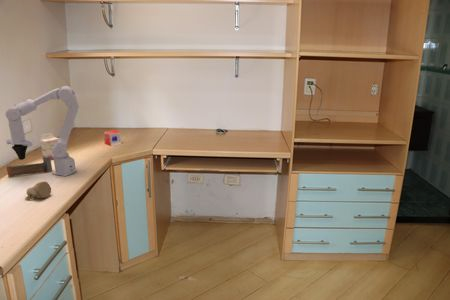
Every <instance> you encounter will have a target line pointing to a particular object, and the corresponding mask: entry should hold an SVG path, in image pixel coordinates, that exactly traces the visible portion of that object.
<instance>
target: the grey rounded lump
mask: <svg viewBox="0 0 450 300" xmlns="http://www.w3.org/2000/svg"><path fill="white" fill-rule="evenodd" d="M51 193H52V187H51V185H50V183H48V182H47V181H39V182H37V183H35V185H33V186H31V187H28V188H27V189H26V196H25V198H24V200H25V201H27V200H28V201H30V200H33V199H35V198H38V199H46V198H49V197H50V195H51Z"/></svg>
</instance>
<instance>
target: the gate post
mask: <svg viewBox="0 0 450 300" xmlns="http://www.w3.org/2000/svg"><path fill="white" fill-rule="evenodd" d="M41 158H42V160H43V162H45V164H46V170H47V172H46V173H51V172H52V171H53V167H52V166H53V165H52V160H51V159H50V158H51V157H49V156H46V157H43V156H42V157H41Z"/></svg>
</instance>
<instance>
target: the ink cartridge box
mask: <svg viewBox="0 0 450 300" xmlns="http://www.w3.org/2000/svg"><path fill="white" fill-rule="evenodd" d="M39 136H40V137H39V138H40V140H39V142H40V146H41V152H42V153H41V154H42V158H43V157H46V156H49V157H51V158H50V159H51V161H54V159H53V156H54V155H53V153H52V150H53V148H54V145H55V143H56V142H57V141H58V138H59V137H56V136H55V132H49V133H43V134H40V135H39Z"/></svg>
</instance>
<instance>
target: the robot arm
mask: <svg viewBox="0 0 450 300" xmlns="http://www.w3.org/2000/svg"><path fill="white" fill-rule="evenodd" d="M59 99H60V101H62V102H64V103H65V105H66V106H67V108H68V109H67V111H66V114H65V117H64V120H63V124H62V127H61V129H60V132H59V135H58V137H57V138H58V141H57V142H56V143H55V145H54V148H53V150H52V153H53V155H54V156H53V159H54V160H53V165H54V170H55V171H53V172H51V175H56V176H62V177H67V176H69V175H72V174H73V173H74V174H75V173H77V172H78V170H77V169H76V162H75V159H74V158H73V157H72V156H70V154H69V153H68V152H67V151H68V141H69V139H70V136H71V132H72V129H73V126H74V122H75V121H76V116H77V114H78V110H79V107H80V105H79V101H78V99H77V95H76V92H75V91H74V89H73V88H72V87H71V86H69V85H62V86H61V87H58V88H55V89H52V90H50V91H48V92H46V93H44V94H42V95H40V96H38V97H37V98H35V99H29V98H28V99H26V98H25V99H23V101H21V102H20V103H18V104H13V106H11V107H10V108H8V109H7V110H6V112H5V117H6V119H7V120H8V127H9V133H10V137H11V138H10V139H7V140H6V144H7V145H11V149H12V150H14V152H15V153H16V155H17V158H18V159H19V160H20V161H22V160H25V159H26V154H27V150H28V148H30V147H32V146H33V142H32V141H30V140H27V139H26V135H25V129H24V124H23V121H22V117H24V116H26V115H29V114H31V113H32V112H34V111H37V107H38V106H40V105H43V104H44V103H46V102H48V101H50V100H57V101H59Z"/></svg>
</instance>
